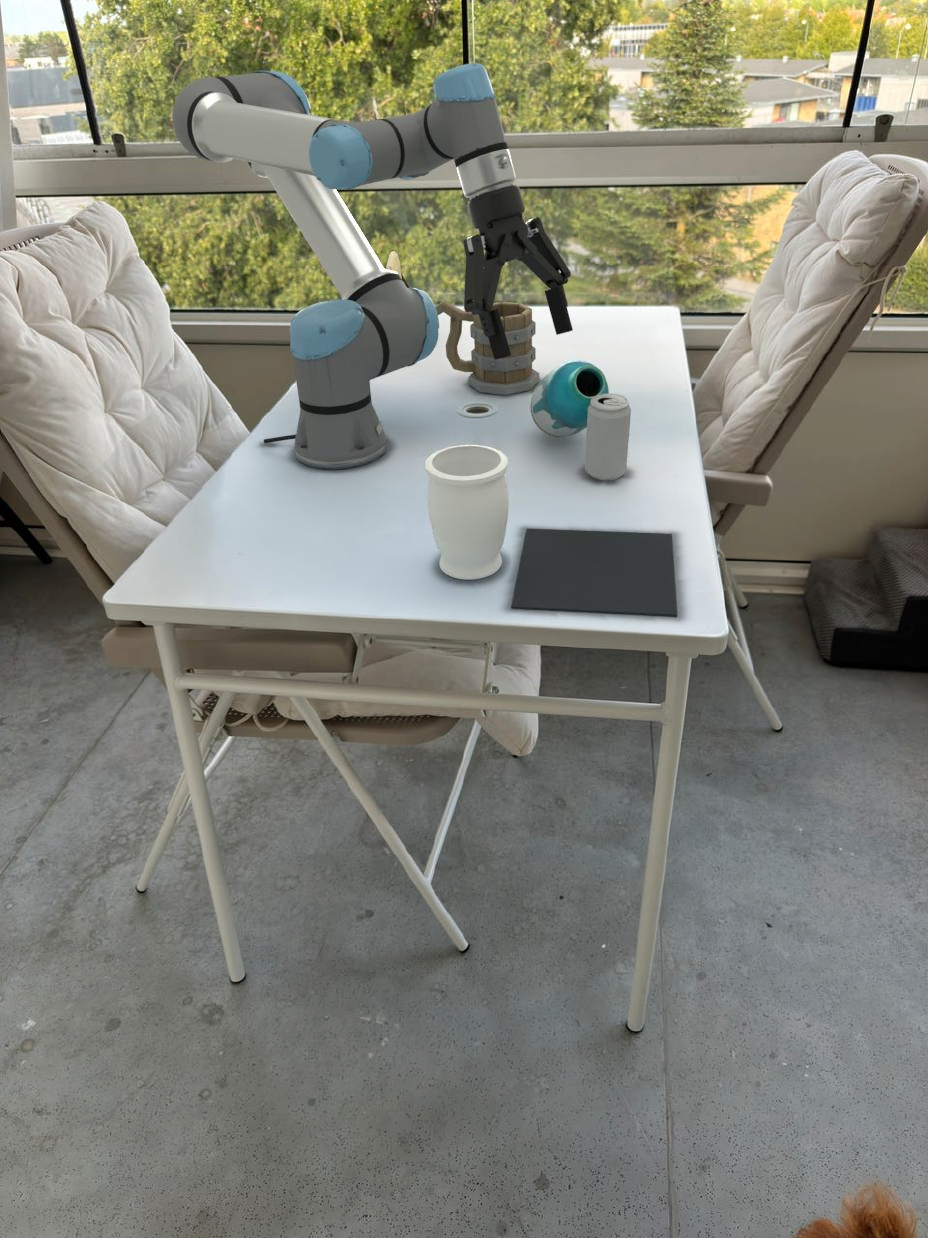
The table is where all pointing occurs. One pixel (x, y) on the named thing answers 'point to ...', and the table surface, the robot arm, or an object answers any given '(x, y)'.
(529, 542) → the mat
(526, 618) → the table surface
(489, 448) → the jar
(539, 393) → the vase
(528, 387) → the tankard
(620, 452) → the beverage can
